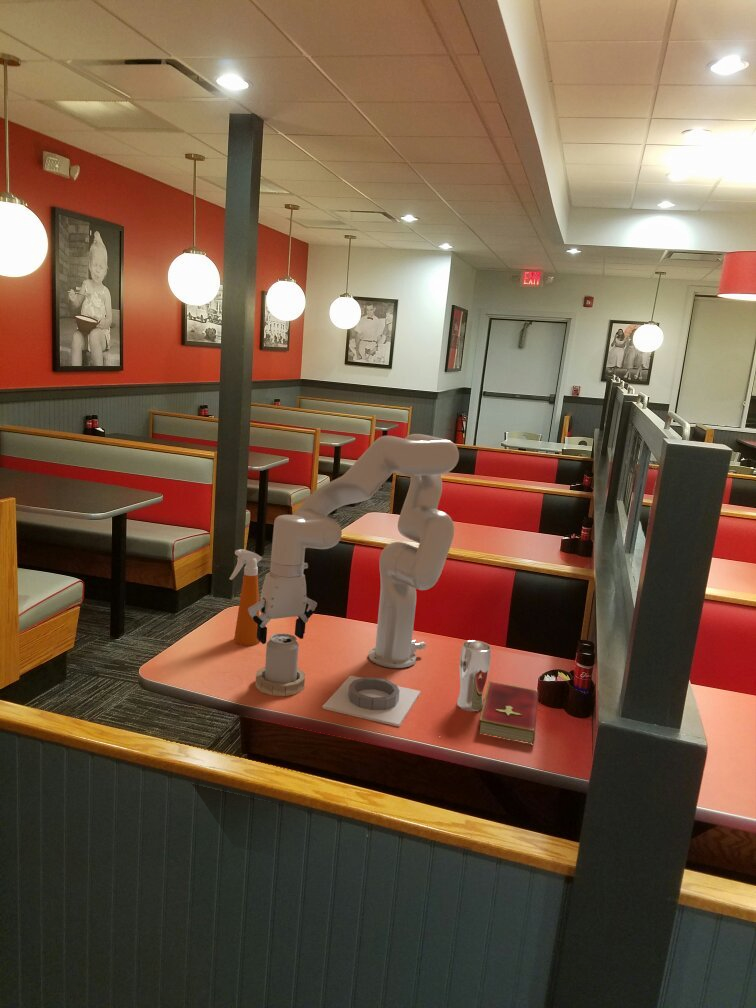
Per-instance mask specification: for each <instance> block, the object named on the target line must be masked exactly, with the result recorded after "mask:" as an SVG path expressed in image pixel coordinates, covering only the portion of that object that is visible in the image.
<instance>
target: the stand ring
mask: <svg viewBox="0 0 756 1008" xmlns="http://www.w3.org/2000/svg"><path fill="white" fill-rule="evenodd" d="M305 679H306V673H305V672H304V671H303V670H302V669H301V668H299V667H297V679H296V681H295V682H291V683H286V684H280V683H272V682H269V681H266V680H265V666H263V667H262V668H260V669H258V670H256V676H255V688H256V689H257V690H258V691H259V692H261V693H263V694H266V695H270V696H276V697H287V696H288V697H289V696H292V695H297V694H299V693H301V692H302V691H303V690H305V684H306V683H305Z"/></svg>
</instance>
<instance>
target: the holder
mask: <svg viewBox="0 0 756 1008" xmlns="http://www.w3.org/2000/svg"><path fill="white" fill-rule="evenodd" d="M419 694H420V695H421V694H422V693H421V690H418V689H413V688H408V687H403V686H399V685H397V683H396V684H395V683H393V682H392V681H390V680H387V679H384V678H379V677H359V676H355V675H350V676H348V678H347V679H346V680H345V681H344V682H343V683H342V684H341V685H340V686H339V687H338V688H337V690H336V691H334V693H333V694H332V695H331V696H330V697H329V698H328V699H327V701H326V702H325V703H324V704H323V705H322V709H323V710H327V711H331V712H335V713H339V714H343V715H344V714H345V715H348V716H352V717H356V718H361V719H364V720H369V721H373V722H378V723H382V724H386V725H389V726H394V727H398V728H400V726H401V724H402V723H403V722H404V720H405V719H404V718H406V717H407V715H408V714H409V712H410V711H411V709H412V708H413V706H414V704H415V703H416V701H417V700H418V698H419V697H418V696H420V695H419ZM417 697H418V698H417ZM416 699H417V700H416ZM414 702H415V703H414ZM412 705H413V706H412ZM411 707H412V708H411ZM409 710H410V711H409ZM407 713H408V714H407Z"/></svg>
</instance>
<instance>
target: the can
mask: <svg viewBox="0 0 756 1008" xmlns="http://www.w3.org/2000/svg"><path fill="white" fill-rule="evenodd" d="M299 646H300V645H299V642H298V641H297V636H296V635H293V634H290V633H285V632H283V633H282V632H281V633H274V634H272V635H271V636H269V640H268V641H266V647H265V649H266V650H265V664H264V667H265V680H266V681H269V682H272V683H280V684H286V683H291V682H295V681H296V679H297V668H298V660H299V649H300V648H299Z"/></svg>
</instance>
